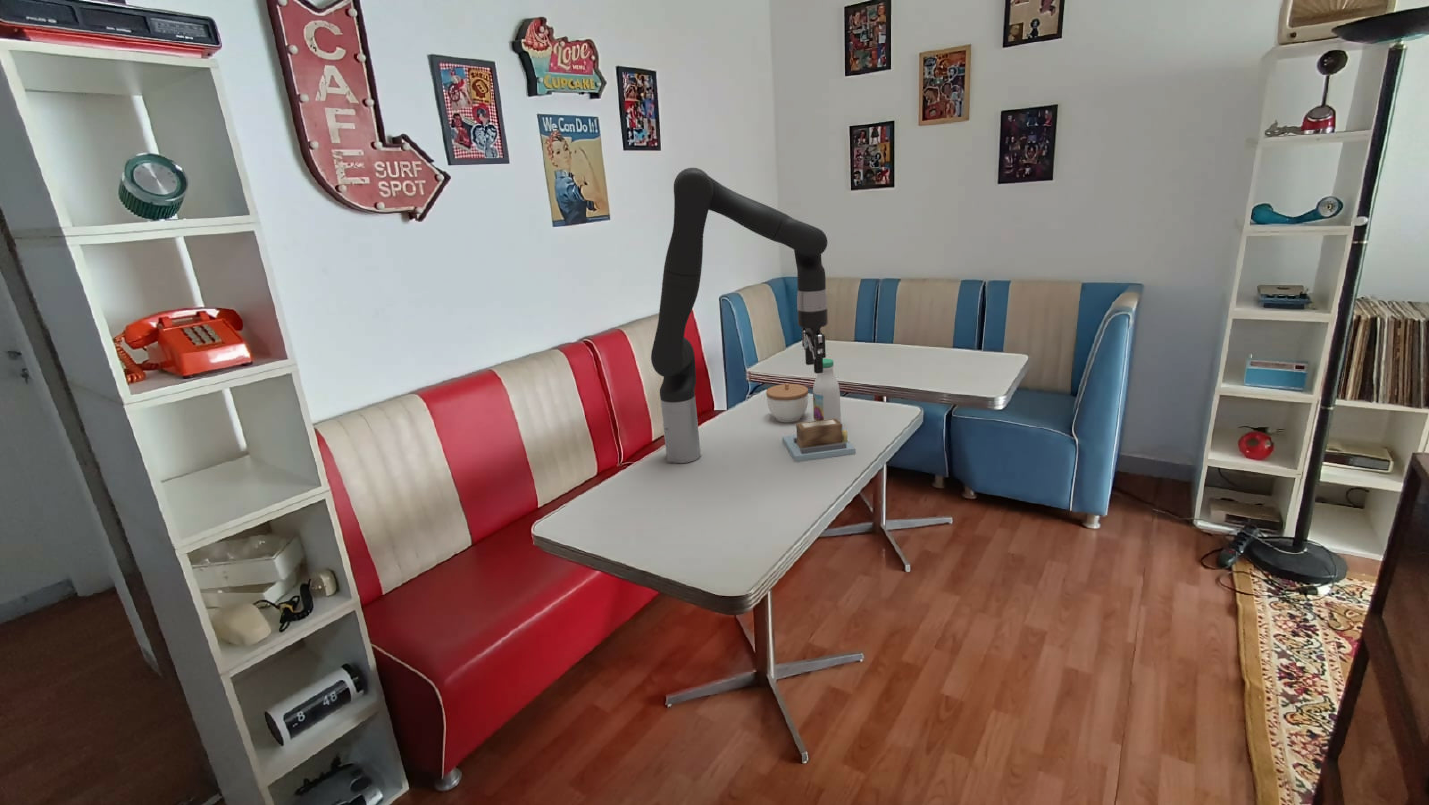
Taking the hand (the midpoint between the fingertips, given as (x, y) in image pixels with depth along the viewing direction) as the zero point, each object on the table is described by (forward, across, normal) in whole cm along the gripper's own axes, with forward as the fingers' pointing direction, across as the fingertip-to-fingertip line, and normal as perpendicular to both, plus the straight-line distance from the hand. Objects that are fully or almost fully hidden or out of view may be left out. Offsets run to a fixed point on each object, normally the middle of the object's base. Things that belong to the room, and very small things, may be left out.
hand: (814, 368), depth 181 cm
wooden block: (+21, -2, 0) cm, 21 cm away
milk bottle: (+22, +14, -7) cm, 27 cm away
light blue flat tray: (+22, 0, 0) cm, 22 cm away
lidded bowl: (+22, +25, +2) cm, 34 cm away
